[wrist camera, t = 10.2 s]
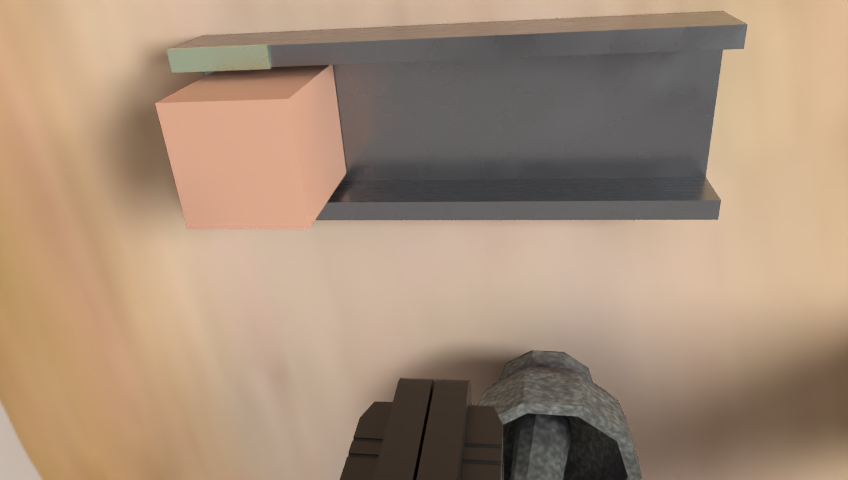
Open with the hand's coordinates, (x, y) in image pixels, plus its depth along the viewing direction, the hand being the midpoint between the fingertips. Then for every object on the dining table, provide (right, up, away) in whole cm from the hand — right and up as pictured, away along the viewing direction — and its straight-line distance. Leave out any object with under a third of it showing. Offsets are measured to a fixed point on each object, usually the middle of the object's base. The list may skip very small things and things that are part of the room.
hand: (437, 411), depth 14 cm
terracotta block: (-8, +10, +21) cm, 25 cm away
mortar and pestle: (+7, -6, +29) cm, 30 cm away
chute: (+1, +10, +21) cm, 23 cm away
